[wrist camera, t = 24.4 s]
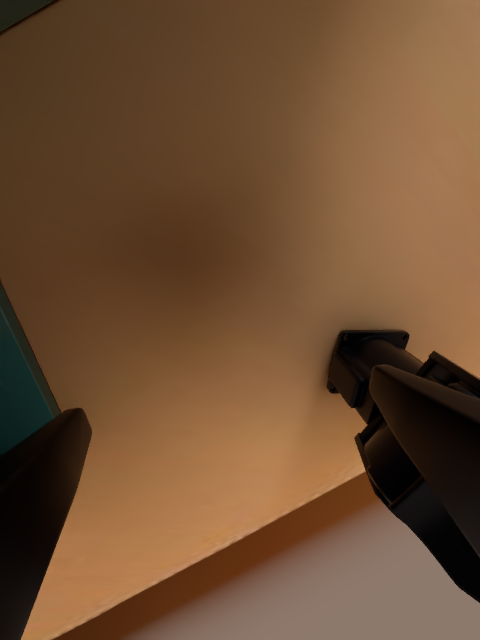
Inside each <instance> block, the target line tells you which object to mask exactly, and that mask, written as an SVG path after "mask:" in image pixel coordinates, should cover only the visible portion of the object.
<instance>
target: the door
mask: <svg viewBox="0 0 480 640" xmlns="http://www.w3.org/2000/svg"><path fill="white" fill-rule="evenodd" d="M52 1H54V0H0V32H1V31H2V30H4V29H6V28H8V27H9V26H11V25H13V24H15V23H16V22H18V21H20V20H21V19H23V18H25V17H27V16H28V15H30V14H32V13H33V12H35V11H37V10H39V9H40V8H42V7H44V6H45V5H47V4H49V3H51V2H52Z"/></svg>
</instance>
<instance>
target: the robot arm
mask: <svg viewBox="0 0 480 640" xmlns="http://www.w3.org/2000/svg"><path fill="white" fill-rule="evenodd" d="M345 335H347V337H346V338H344V336H345ZM403 335H404V336H403ZM402 336H403V337H402ZM408 340H409V334H408V333H407V332H406V331H396V330H344V331H342V332H341V333H340V335H339V338H338V342H337V347H336V351H335V354H334V355H333V359H332V363H331V367H330V372H329V376H328V377H329V381H328V385H327V389H328V391H329V392H330V393H340V394H341V395H342V397H343V398H344V400H345V401H346V402H347V404H348V405H349V406H350V407H351V408H355V409H356V410H357V412H358V413H359V414H360V416H361V417H362V418H363V420H364V421H365V422H366V424H367V426H366V428H365V429H364V430H363V431H362V432H361V433H358V434H357V435H356V436H355V438H354V439H355V442H356V445H357V447H358V450H359V453H360V456H361V459H362V461H363V464H364V467H365V470H366V473H367V475H368V478H369V481H370V483H371V485H372V487H373V490H374V492H375V494H376V495H377V496H378V497H379V498H380V499H381V501H382V502H383V503H384V504H385V505H386V506H387V507H388V509H389V510H390V511H391V512H392V513H393V514H394V515H395V516H396V517H397V518H399V519H400V520H401V521H402V522H404V523H405V524H406V525H407V526H408V527H409V528H410V529H411V530H412V531H413V532H414V533H415V534H416V535H417V537H418V538H419V539H420V540H421V541H422V542H423V543H424V544H425V546H427V548H428V549H429V551H430V552H431V553H432V554H433V556H434V557H435V558H436V559H437V561H438V562H439V563H440V564H441V566H442V567H443V568H444V570H445V571H446V572H447V574H448V575H449V576H450V578H451V579H452V580H453V581H454V583H455V584H456V585H457V586H458V587H459V588H460V589H461V590H463V591H464V592H466V593H467V594H468V595H470V596H471V597H472V598H474V599H475V600H476V601H478V602H479V603H480V378H478V377H477V376H475V375H473V374H472V373H470V372H468V371H467V370H465V369H463V368H462V367H460V366H458V365H457V364H455V363H453V362H452V361H450V360H449V359H447V358H445V357H444V356H442V355H440V354H439V353H437V352H435V351H433V352H432V353H431V354H430V355H429V356H428V357H429V359H428V360H427V361H426V362H425V363H423V362H421V361H420V360H419V359H417V358H416V357H414V356H413V355H412V354H410V353H409V352H407V351H406V350H405V348H406V345H407V342H408ZM333 387H334V388H333ZM332 388H333V389H332ZM91 435H92V430H91V426H90V424H89V421H88V419H87V417H86V414H85V412H84V410H83V409H82V408H74V409H68V410H65V411H63V412H62V413H61V414H59V415H58V416H56V417H55V418H54V419H52V420H51V421H49V422H48V423H46V424H45V425H44V426H42V427H41V428H39V429H38V430H37V431H35V432H34V433H32V434H31V435H30V436H28V437H27V438H25V439H24V440H22V441H21V442H20V443H18V444H17V445H15V446H14V447H13V448H11V449H10V450H8V451H7V452H6V453H4V454H3V455H1V456H0V640H21V637H22V635H23V632H24V629H25V627H26V624H27V621H28V619H29V616H30V613H31V611H32V608H33V606H34V603H35V600H36V598H37V595H38V592H39V590H40V587H41V584H42V582H43V579H44V576H45V574H46V571H47V568H48V566H49V563H50V560H51V558H52V555H53V552H54V550H55V547H56V544H57V542H58V539H59V536H60V534H61V531H62V528H63V526H64V523H65V521H66V518H67V515H68V513H69V510H70V507H71V505H72V502H73V499H74V496H75V494H76V491H77V488H78V484H79V481H80V477H81V473H82V470H83V466H84V462H85V458H86V455H87V451H88V447H89V443H90V440H91Z"/></svg>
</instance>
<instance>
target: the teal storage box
mask: <svg viewBox="0 0 480 640" xmlns="http://www.w3.org/2000/svg"><path fill="white" fill-rule="evenodd" d="M59 414H61V412H60V410H59V408H58V406H57V404H56V402H55V399H54V397H53V395H52V393H51V391H50V389H49V386H48V384H47V382H46V380H45V378H44V376H43V373H42V371H41V369H40V367H39V365H38V363H37V360H36V358H35V356H34V354H33V352H32V350H31V347H30V345H29V343H28V341H27V339H26V337H25V334H24V332H23V330H22V328H21V326H20V324H19V321H18V319H17V317H16V315H15V313H14V311H13V309H12V306H11V304H10V302H9V300H8V298H7V296H6V293H5V291H4V289H3V287H2V285H1V283H0V456H1V455H3V454H4V453H6V452H7V451H8V450H10V449H11V448H13V447H14V446H15V445H17V444H18V443H20V442H21V441H22V440H24V439H25V438H27V437H28V436H30V435H31V434H32V433H34V432H35V431H37V430H38V429H39V428H41V427H42V426H44V425H45V424H46V423H48V422H49V421H51V420H52V419H54V418H55V417H56V416H58V415H59Z"/></svg>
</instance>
